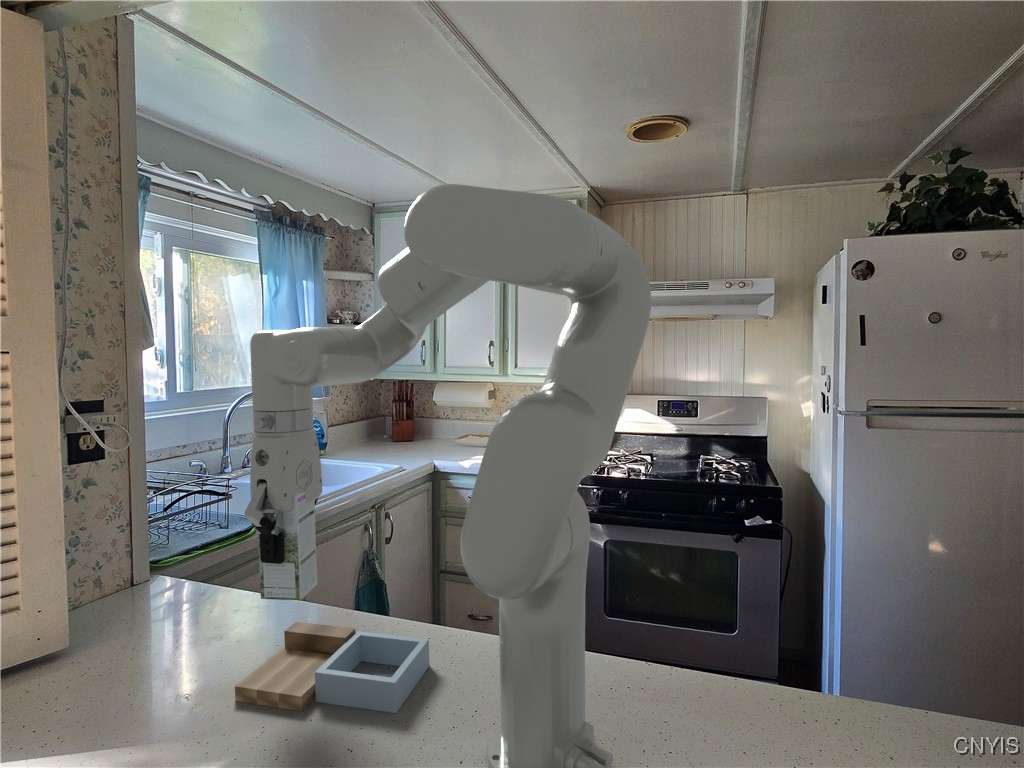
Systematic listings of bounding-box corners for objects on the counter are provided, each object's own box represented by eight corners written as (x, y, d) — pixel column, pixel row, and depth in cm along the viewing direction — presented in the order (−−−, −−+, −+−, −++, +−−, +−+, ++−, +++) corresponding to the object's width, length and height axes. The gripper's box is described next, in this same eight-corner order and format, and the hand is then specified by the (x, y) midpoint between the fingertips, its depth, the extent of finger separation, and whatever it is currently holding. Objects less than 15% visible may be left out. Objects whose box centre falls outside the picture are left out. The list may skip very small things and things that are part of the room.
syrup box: (319, 584, 84) (315, 483, 83) (300, 602, 78) (296, 493, 77) (280, 583, 84) (276, 482, 83) (258, 601, 78) (254, 493, 77)
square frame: (429, 665, 86) (428, 639, 86) (395, 713, 75) (395, 682, 75) (358, 657, 89) (357, 631, 89) (315, 701, 78) (314, 672, 78)
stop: (356, 657, 89) (355, 628, 88) (346, 668, 86) (345, 638, 86) (297, 650, 91) (296, 621, 91) (285, 660, 88) (284, 630, 88)
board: (343, 669, 85) (342, 656, 85) (301, 711, 76) (301, 696, 76) (282, 661, 88) (282, 648, 88) (235, 700, 78) (234, 686, 78)
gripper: (267, 432, 70) (273, 580, 71) (342, 415, 87) (345, 535, 88) (213, 431, 72) (220, 575, 73) (296, 414, 89) (300, 532, 90)
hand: (288, 552), depth 81 cm, fingers closed on syrup box, 6 cm apart
